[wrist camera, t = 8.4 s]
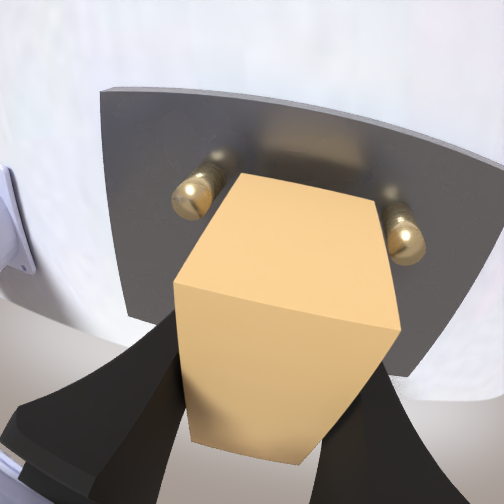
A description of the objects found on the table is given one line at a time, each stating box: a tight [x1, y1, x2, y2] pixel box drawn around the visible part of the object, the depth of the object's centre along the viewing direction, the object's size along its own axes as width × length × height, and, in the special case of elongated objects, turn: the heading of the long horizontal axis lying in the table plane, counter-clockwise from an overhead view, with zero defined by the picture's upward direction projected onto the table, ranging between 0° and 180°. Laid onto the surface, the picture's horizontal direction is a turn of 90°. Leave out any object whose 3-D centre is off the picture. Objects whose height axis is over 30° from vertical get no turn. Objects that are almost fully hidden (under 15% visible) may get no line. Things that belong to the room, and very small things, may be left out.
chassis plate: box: [100, 87, 504, 377], centre depth 12 cm, size 16×12×3 cm
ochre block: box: [173, 173, 401, 465], centre depth 10 cm, size 4×8×5 cm, turn 173°
